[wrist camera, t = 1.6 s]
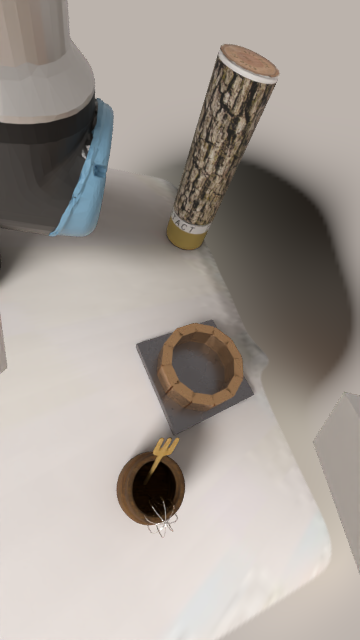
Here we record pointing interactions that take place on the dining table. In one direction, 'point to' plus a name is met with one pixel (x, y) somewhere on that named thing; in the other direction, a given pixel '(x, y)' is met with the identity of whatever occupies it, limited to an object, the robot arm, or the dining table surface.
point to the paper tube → (220, 140)
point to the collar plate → (194, 373)
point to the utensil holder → (152, 486)
